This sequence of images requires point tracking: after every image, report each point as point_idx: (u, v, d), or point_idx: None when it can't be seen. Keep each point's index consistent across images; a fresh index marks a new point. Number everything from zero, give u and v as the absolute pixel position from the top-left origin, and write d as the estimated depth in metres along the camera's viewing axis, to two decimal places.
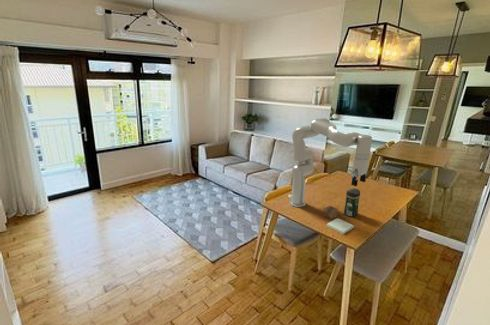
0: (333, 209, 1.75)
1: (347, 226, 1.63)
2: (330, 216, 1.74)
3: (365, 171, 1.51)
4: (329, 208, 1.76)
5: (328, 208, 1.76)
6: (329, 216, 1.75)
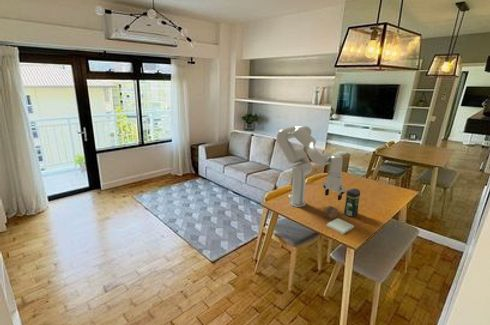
0: (333, 209, 1.75)
1: (347, 226, 1.63)
2: (330, 216, 1.74)
3: None
4: (329, 208, 1.76)
5: (329, 208, 1.76)
6: (329, 216, 1.75)
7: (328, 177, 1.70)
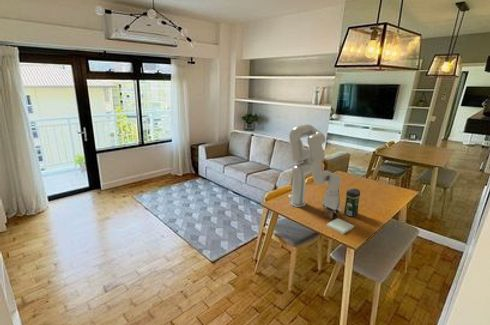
0: None
1: (347, 226, 1.63)
2: (330, 216, 1.74)
3: None
4: (329, 208, 1.76)
5: (329, 208, 1.76)
6: (329, 216, 1.75)
7: (326, 195, 1.74)
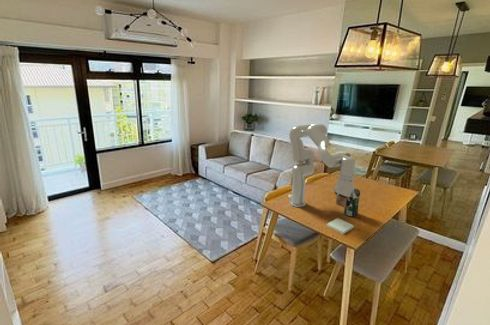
0: None
1: (347, 226, 1.63)
2: (343, 204, 1.56)
3: None
4: (342, 195, 1.58)
5: (341, 196, 1.58)
6: (342, 204, 1.57)
7: (338, 180, 1.56)
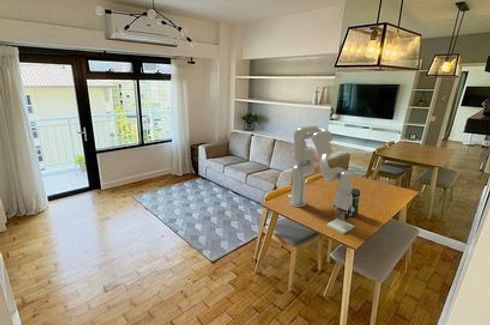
0: None
1: (347, 226, 1.63)
2: (342, 217, 1.59)
3: None
4: (340, 208, 1.61)
5: (340, 209, 1.61)
6: (340, 217, 1.60)
7: (337, 194, 1.59)
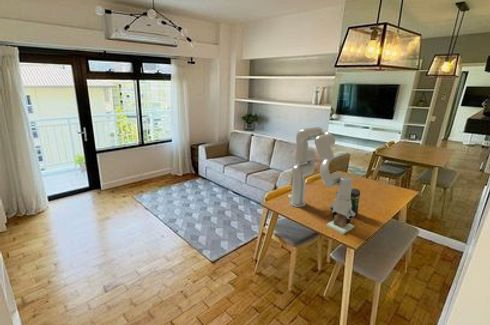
0: (343, 217, 1.62)
1: (347, 226, 1.63)
2: (340, 225, 1.61)
3: None
4: (339, 216, 1.63)
5: (338, 216, 1.63)
6: (339, 224, 1.62)
7: (336, 199, 1.60)
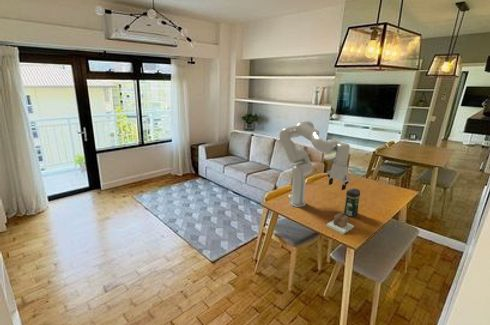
0: (343, 217, 1.62)
1: (347, 226, 1.63)
2: (340, 225, 1.61)
3: None
4: (339, 216, 1.63)
5: (338, 216, 1.63)
6: (339, 224, 1.62)
7: (333, 166, 1.64)
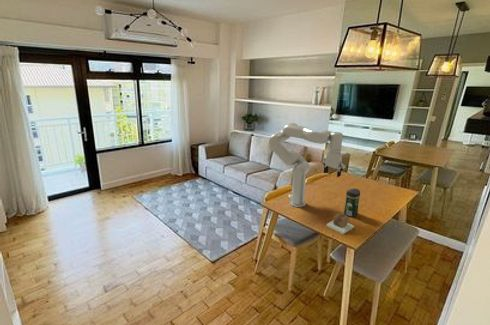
0: (343, 217, 1.62)
1: (347, 226, 1.63)
2: (340, 225, 1.61)
3: None
4: (339, 216, 1.63)
5: (338, 216, 1.63)
6: (339, 224, 1.62)
7: (328, 154, 1.73)
